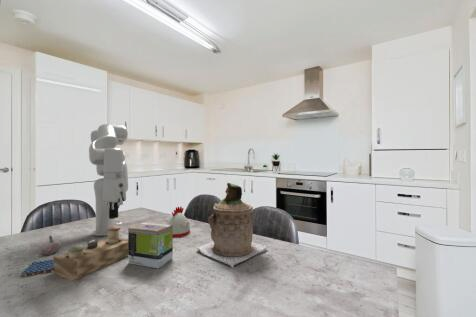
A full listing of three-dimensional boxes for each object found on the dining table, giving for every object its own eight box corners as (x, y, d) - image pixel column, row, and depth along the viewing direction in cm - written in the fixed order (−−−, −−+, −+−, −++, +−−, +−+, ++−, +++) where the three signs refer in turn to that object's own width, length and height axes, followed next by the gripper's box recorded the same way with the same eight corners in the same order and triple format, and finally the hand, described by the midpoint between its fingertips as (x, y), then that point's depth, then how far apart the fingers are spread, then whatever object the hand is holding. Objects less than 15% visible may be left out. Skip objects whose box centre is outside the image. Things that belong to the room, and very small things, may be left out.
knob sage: (79, 264, 87) (79, 244, 87) (86, 266, 85) (86, 246, 85) (65, 269, 82) (65, 248, 82) (72, 272, 80) (72, 251, 80)
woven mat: (31, 266, 88) (31, 261, 88) (64, 261, 93) (64, 256, 93) (17, 279, 79) (18, 273, 79) (54, 273, 83) (54, 268, 83)
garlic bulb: (48, 257, 96) (48, 238, 96) (35, 255, 97) (35, 237, 97) (65, 250, 103) (65, 233, 103) (52, 248, 105) (52, 232, 105)
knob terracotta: (115, 242, 100) (115, 225, 100) (122, 244, 98) (122, 226, 98) (104, 246, 96) (104, 228, 96) (111, 248, 94) (111, 230, 94)
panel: (114, 249, 104) (114, 236, 104) (131, 254, 98) (131, 240, 98) (53, 273, 82) (53, 257, 82) (71, 280, 77) (71, 263, 77)
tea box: (173, 258, 94) (173, 224, 94) (157, 269, 84) (157, 231, 85) (145, 253, 99) (145, 220, 99) (127, 263, 89) (127, 227, 89)
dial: (91, 245, 93) (91, 238, 93) (99, 245, 93) (99, 239, 93) (85, 248, 90) (85, 242, 90) (93, 249, 89) (93, 242, 89)
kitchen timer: (195, 231, 129) (194, 206, 129) (176, 239, 117) (176, 210, 117) (178, 227, 136) (178, 203, 136) (159, 234, 125) (159, 207, 125)
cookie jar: (269, 250, 102) (268, 181, 102) (231, 269, 84) (231, 186, 84) (231, 237, 119) (231, 178, 119) (193, 251, 101) (193, 182, 101)
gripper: (132, 175, 97) (132, 217, 97) (110, 175, 104) (111, 214, 103) (116, 177, 90) (116, 221, 90) (94, 176, 97) (94, 218, 96)
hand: (113, 217), depth 97 cm, fingers closed
